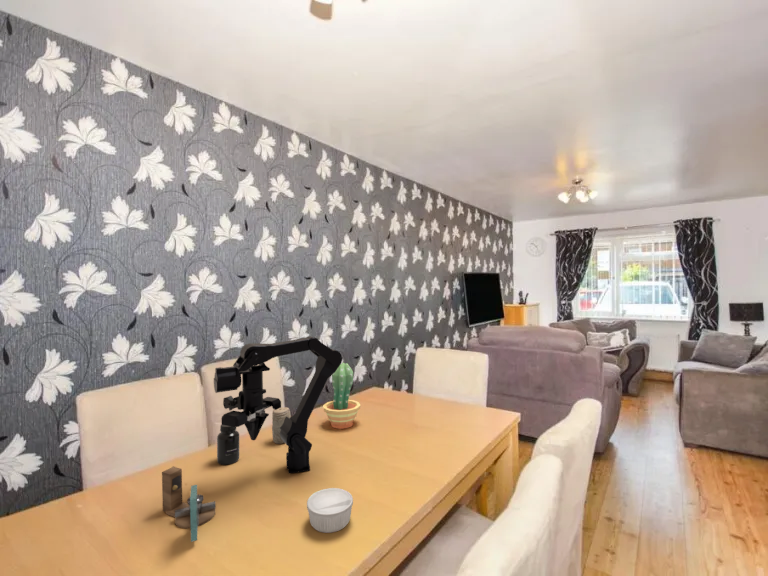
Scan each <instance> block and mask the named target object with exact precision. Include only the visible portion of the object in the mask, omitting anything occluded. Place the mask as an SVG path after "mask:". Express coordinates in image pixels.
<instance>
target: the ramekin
mask: <svg viewBox="0 0 768 576" xmlns="http://www.w3.org/2000/svg"><path fill="white" fill-rule="evenodd" d="M353 504H354V498H353V496H352V494H351V493H350V492H349V490H345V489H342V488H339V487H329V488H324V489H323V488H322V489H321V490H318V491H315V492H314V493H312V494H311V495H310V496H309V497H308V499H307V500H306V509H307V512H308V518H309V523H310V525H311V527H312V528H313V529H314V530H316V531H317V532H319V533H327V534H328V533H336V532H338V531H341V530H343V529H344V528H345V527H347V525H348V523H350V520H351V515H352V509H353V508H352V507H353Z"/></svg>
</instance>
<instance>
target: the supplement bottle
mask: <svg viewBox="0 0 768 576" xmlns="http://www.w3.org/2000/svg"><path fill="white" fill-rule="evenodd" d="M216 459H217V461H216V462H217V464H219V465H223V466H226V465H231V464H234V463H237V462H238V461H239V459H240V433H239V431H238V430H237V427H232V426H226V425H222V423H221V424H220V430H219V433H218V434H217V436H216Z"/></svg>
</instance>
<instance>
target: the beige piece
mask: <svg viewBox="0 0 768 576" xmlns="http://www.w3.org/2000/svg"><path fill="white" fill-rule="evenodd" d="M271 414H272V417H271V418H272V419H271V420H272V422H271V423H272V425H271V429H272V431H271V433H272V435H271V436H272V442H273V443H275V444H280V445H281V444H285V443H284V441H283V440H282V439H281V437H280V431H281V429H280V427H281V426H282V425H283V423H284V420H285V418H286V416H287V417H288V418H290V417H292V415H291V410H290V407H287V406H286V407H284V406H281V408H279V409H277V410H274V409H273V410H272V413H271Z"/></svg>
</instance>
